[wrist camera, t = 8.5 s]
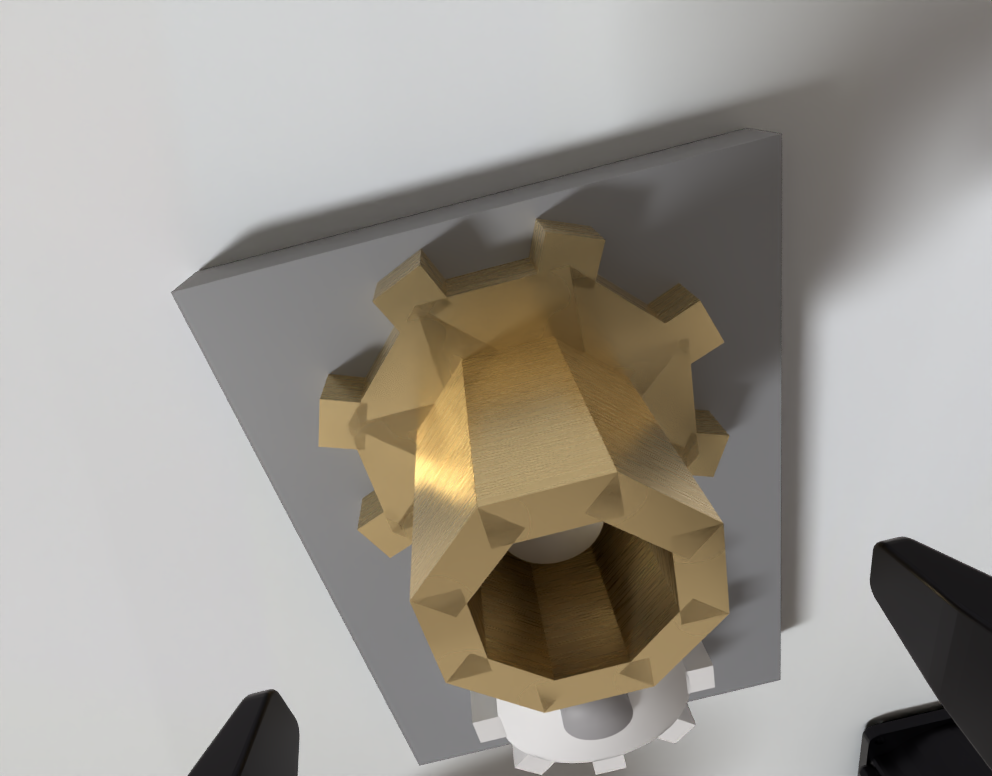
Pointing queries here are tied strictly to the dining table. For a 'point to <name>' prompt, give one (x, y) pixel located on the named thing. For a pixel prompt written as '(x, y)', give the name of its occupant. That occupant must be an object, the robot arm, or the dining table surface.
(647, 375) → the brass gear
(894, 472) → the dining table surface
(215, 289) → the plate
